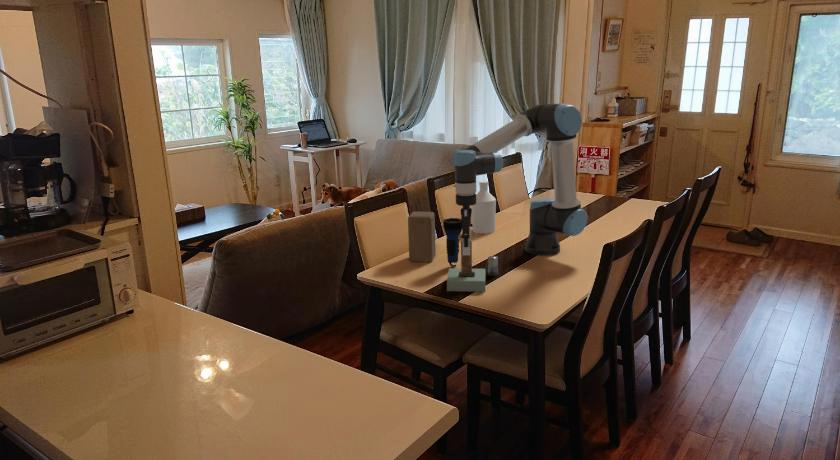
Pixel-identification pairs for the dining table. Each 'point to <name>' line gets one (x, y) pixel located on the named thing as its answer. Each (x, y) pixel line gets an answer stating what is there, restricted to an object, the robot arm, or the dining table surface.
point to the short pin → (493, 265)
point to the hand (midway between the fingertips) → (467, 249)
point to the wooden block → (421, 236)
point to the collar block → (466, 280)
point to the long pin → (466, 263)
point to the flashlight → (452, 238)
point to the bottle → (484, 211)
